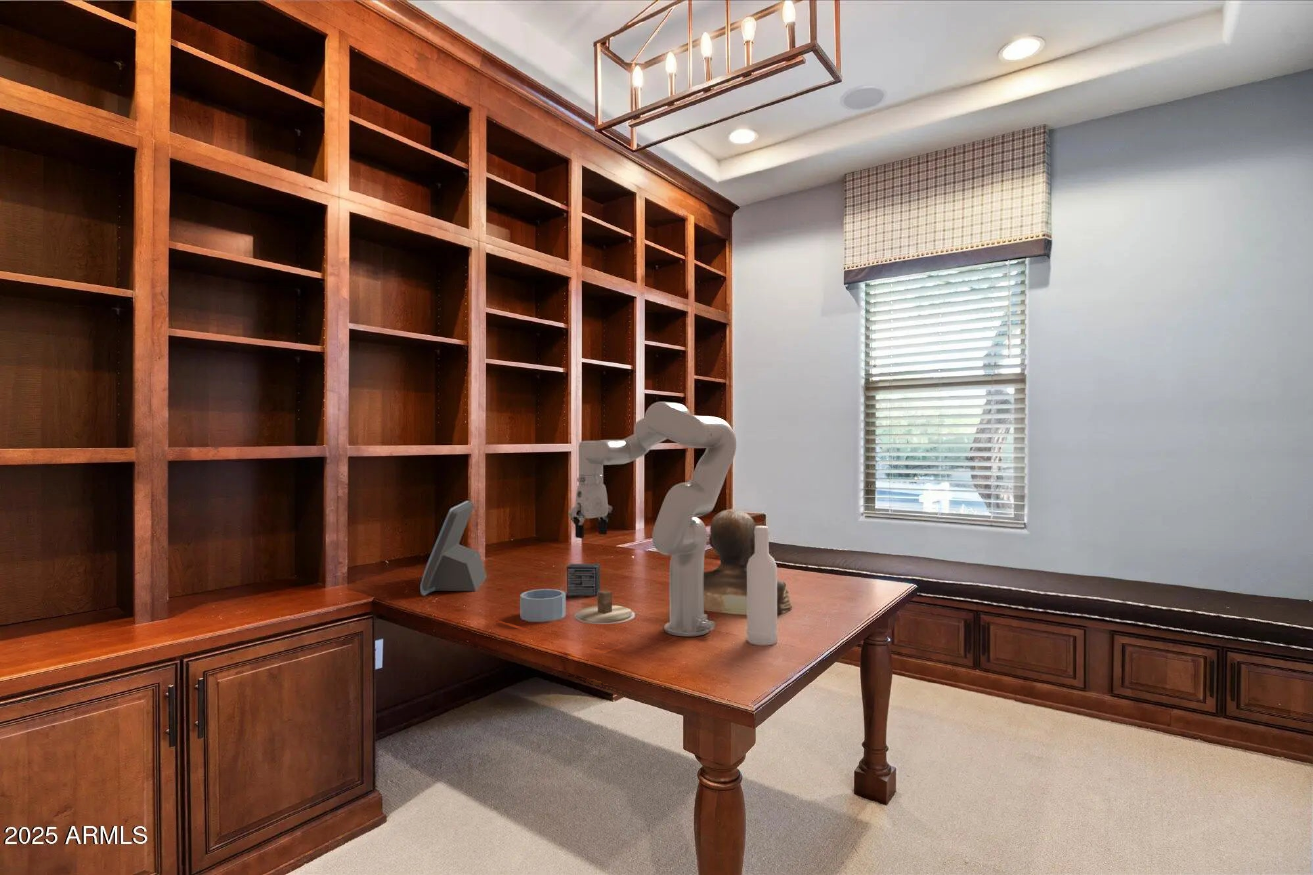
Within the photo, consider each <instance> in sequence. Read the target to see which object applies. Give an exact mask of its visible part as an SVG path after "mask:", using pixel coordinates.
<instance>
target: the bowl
mask: <svg viewBox="0 0 1313 875" xmlns="http://www.w3.org/2000/svg"><path fill="white" fill-rule="evenodd" d="M566 615H567V592H565V591H564V590H560V589H555V588H553V589H551V588H544V589H543V588H542V589H541V588H540V589H532V590H528V591H524V592H522V593H521V594H519V617H520V619H521V620H523V621H526V622H531V623H534V622H535V623H545V622H554V621H557V620H562V619H563V618H565V617H566Z"/></svg>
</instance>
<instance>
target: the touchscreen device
mask: <svg viewBox="0 0 1313 875" xmlns="http://www.w3.org/2000/svg"><path fill="white" fill-rule="evenodd" d="M474 507H475V503H474V502H472V501H468V500H465V501H463V502H462V503H459V504H458V505H455V506H453V507H451V508H450V509H449V510H448V512H447V514H446V517H445V519H444V521H443V524H442V526H441V528H440V530H439V532H438V536H437V539H436V541H435V543H434V546H433V548H432V551H431V553H430V555H429V558H428V561H427V563H426V566H425V568H424V572H423V575H422V578H421V582H420V586H419V587H420V588H419V590H420V594H421V595H422V596H427V595H429V594H430V593H433V592H436V591H439V592H440V591H442V592H445V591H446V592H477V591H478V590H479V588H480V587H481V586H482V584H483V583H484V582H485V580H486V579H487V578H488V576H487V573H486V570H485V568H484V564H483V561H482V558H481V555H480V552H479V551H478V550H475V549H472V548H470V547H467V546H465V545H461V544H460V542H461V540H462V536H463V535H464V532H465V530H466V528H467V524H468V521H469V520H470V517H471V515H472V512H473V510H474Z"/></svg>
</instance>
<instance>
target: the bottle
mask: <svg viewBox="0 0 1313 875" xmlns="http://www.w3.org/2000/svg"><path fill="white" fill-rule="evenodd" d="M754 534H755V553H754V554H753V555H752V556H751V557H750V558H749V561H748V564H747V615H746V640H747V642H748V643H750V644H751V645H756V646H763V647H765V646H773V645H775V644H777V643H778V635H779V634H778V632H779V631H778V630H779V629H778V615H777V581H778V565H777V564H776V560H775V558H774V557H773V556H772V555H771V554H770V553H769V552H770V548H769V546H770V544H769V539H770V538H769V536H770V530H769V527H768V526H767V525H755V531H754Z"/></svg>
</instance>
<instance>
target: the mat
mask: <svg viewBox="0 0 1313 875" xmlns="http://www.w3.org/2000/svg"><path fill="white" fill-rule="evenodd" d="M635 616H636V613H635V612H634V611H632V616H631V617H630V618H628V619H626V620H623V621H618V622H611V623H594V622H587V621H583V620H581V619H579V618H578V612H577V613H575V614H574V619H576V620H577V621H578V622H581V623H585V624H592V625H609V624H610V625H611V624H612V625H613V624H620V623H623V622H624V623H625V622H628V621H631V620H632V619H634V618H635Z"/></svg>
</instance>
